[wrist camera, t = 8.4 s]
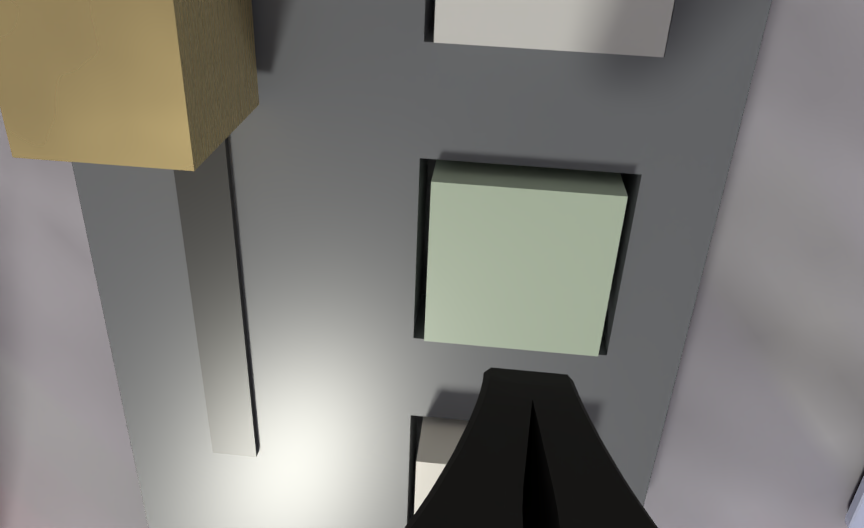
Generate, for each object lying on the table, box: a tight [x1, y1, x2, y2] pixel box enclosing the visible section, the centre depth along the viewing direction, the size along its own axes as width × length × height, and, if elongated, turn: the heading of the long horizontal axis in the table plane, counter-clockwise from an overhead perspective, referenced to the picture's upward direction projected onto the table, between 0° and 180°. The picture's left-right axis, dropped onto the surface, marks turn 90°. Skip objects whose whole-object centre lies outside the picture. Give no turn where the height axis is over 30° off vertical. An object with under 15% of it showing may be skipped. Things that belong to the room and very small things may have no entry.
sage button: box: [424, 159, 628, 356], centre depth 17 cm, size 4×4×2 cm
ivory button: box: [414, 416, 468, 514], centre depth 20 cm, size 4×4×2 cm
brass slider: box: [0, 0, 259, 171], centre depth 13 cm, size 3×3×4 cm
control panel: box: [72, 0, 772, 528], centre depth 18 cm, size 14×24×3 cm, turn 178°
